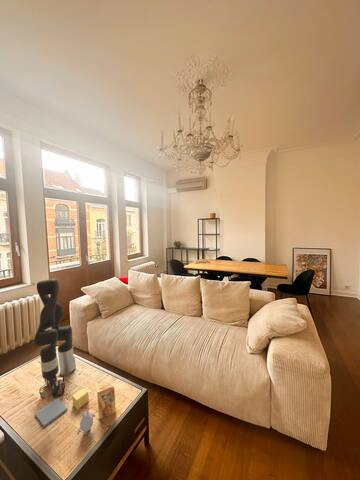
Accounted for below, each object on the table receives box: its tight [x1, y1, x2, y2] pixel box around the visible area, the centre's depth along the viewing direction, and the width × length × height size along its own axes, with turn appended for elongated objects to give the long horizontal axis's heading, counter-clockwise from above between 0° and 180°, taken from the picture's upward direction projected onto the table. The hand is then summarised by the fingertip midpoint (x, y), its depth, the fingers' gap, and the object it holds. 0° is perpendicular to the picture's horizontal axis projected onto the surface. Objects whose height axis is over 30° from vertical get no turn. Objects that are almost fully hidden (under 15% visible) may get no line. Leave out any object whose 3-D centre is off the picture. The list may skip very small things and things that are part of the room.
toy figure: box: [77, 408, 96, 436], centre depth 104 cm, size 11×6×12 cm, turn 154°
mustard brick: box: [72, 387, 90, 410], centre depth 121 cm, size 7×5×6 cm
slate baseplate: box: [34, 397, 68, 428], centre depth 115 cm, size 12×12×1 cm
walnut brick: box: [42, 379, 63, 403], centre depth 110 cm, size 7×5×6 cm
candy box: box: [96, 383, 117, 420], centre depth 113 cm, size 9×4×15 cm, turn 116°
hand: (53, 393), depth 111 cm, fingers closed on walnut brick, 5 cm apart
